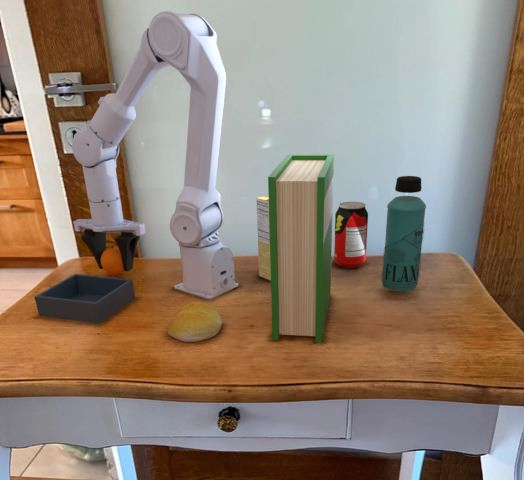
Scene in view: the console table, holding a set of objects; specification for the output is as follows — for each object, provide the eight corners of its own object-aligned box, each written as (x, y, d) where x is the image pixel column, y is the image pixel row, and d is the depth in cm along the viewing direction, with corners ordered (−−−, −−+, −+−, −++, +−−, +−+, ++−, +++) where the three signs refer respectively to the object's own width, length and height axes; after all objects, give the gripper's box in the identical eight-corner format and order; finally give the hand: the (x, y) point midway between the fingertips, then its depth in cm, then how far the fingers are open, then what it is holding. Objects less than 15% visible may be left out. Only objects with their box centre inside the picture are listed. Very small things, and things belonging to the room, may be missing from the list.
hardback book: (321, 342, 82) (324, 177, 71) (272, 339, 84) (268, 177, 72) (330, 296, 98) (334, 154, 86) (288, 295, 99) (287, 154, 88)
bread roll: (162, 343, 84) (158, 319, 82) (180, 318, 92) (177, 295, 90) (214, 345, 83) (212, 321, 81) (228, 320, 90) (226, 297, 88)
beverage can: (364, 258, 115) (367, 200, 109) (366, 269, 109) (369, 208, 103) (333, 259, 115) (335, 201, 110) (334, 269, 110) (336, 208, 104)
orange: (136, 272, 110) (132, 244, 107) (114, 280, 106) (109, 252, 103) (119, 267, 113) (115, 240, 110) (97, 275, 109) (92, 247, 107)
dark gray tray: (135, 299, 100) (132, 279, 98) (100, 325, 90) (96, 303, 89) (78, 292, 103) (74, 273, 102) (39, 317, 94) (34, 296, 92)
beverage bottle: (376, 297, 97) (384, 180, 87) (384, 283, 102) (392, 172, 93) (414, 301, 94) (427, 181, 85) (420, 287, 100) (432, 173, 90)
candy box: (292, 265, 112) (291, 189, 105) (306, 270, 110) (306, 192, 102) (258, 276, 108) (254, 197, 100) (272, 282, 105) (269, 200, 98)
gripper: (58, 202, 101) (72, 272, 108) (127, 206, 97) (137, 278, 103) (81, 193, 107) (93, 260, 114) (147, 196, 103) (156, 266, 109)
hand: (116, 268), depth 109 cm, fingers closed on orange, 5 cm apart
